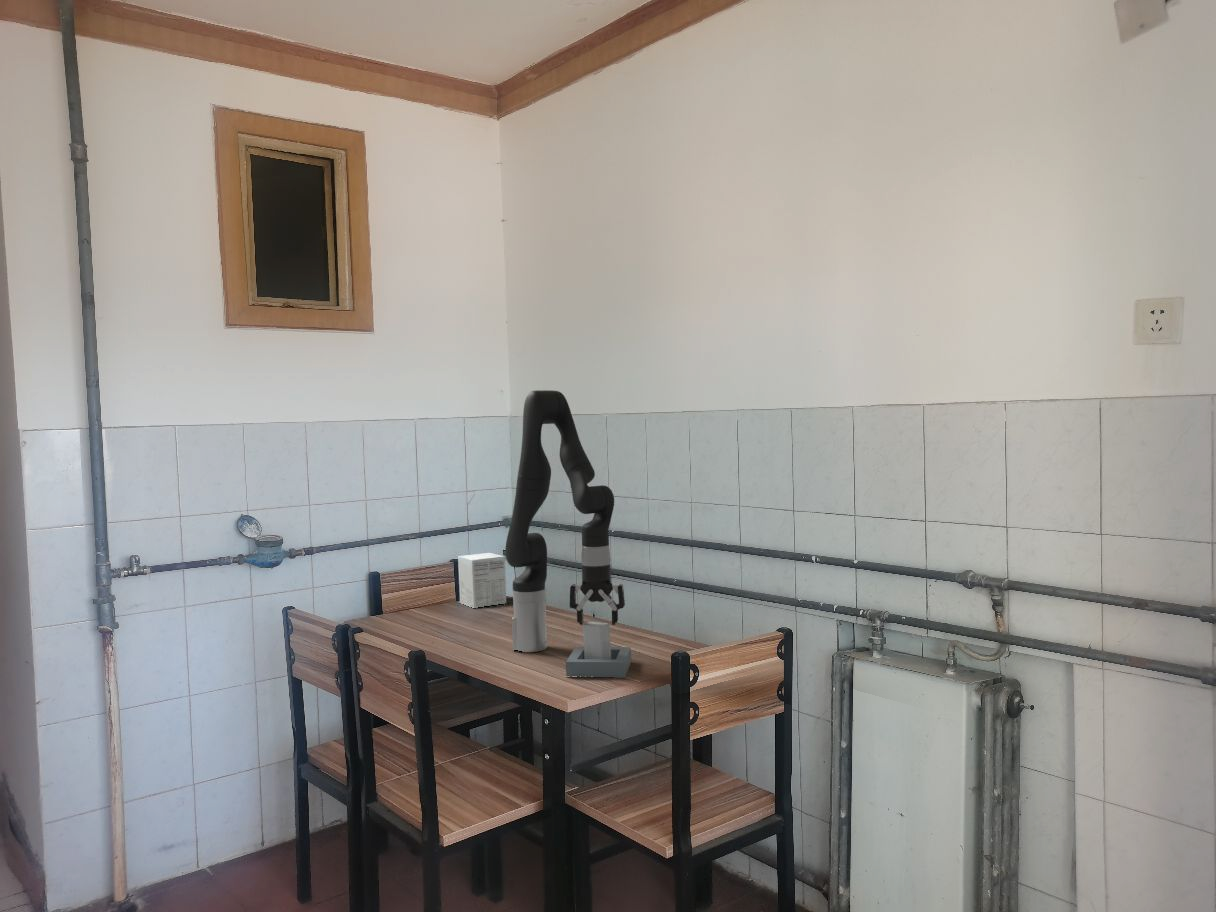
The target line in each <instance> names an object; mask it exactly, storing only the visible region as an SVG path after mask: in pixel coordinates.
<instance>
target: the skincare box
mask: <svg viewBox="0 0 1216 912" xmlns="http://www.w3.org/2000/svg"><path fill="white" fill-rule="evenodd" d="M610 628H611V627H610V623H605V622H600V621H599V622H597V621H588V622H586V623H583V625H582V634H583V636H582V637H583V647H584V656H585V659H611V647H612V646H611V645H612V644H611V629H610Z"/></svg>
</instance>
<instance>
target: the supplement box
mask: <svg viewBox="0 0 1216 912" xmlns="http://www.w3.org/2000/svg"><path fill="white" fill-rule="evenodd" d="M457 563H458V564H457V565H458V585H459V589H458V590H459V604H460V603H461V604H460V605H463V604H464V605H463V606H465V605H466V607H468V606H469V608H471V607H472V608H471V609H473V608H476V609H479V608H478V607H483V608H485V607H484V606H490V605H497V606H499V605H498V604H504V603H506V604H507V583H506V579H507V578H506V555H500V554H496V553H492V552H485V553H474V554H466V555H458V556H457ZM504 605H505V604H504ZM490 607H491V606H490Z"/></svg>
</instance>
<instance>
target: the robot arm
mask: <svg viewBox="0 0 1216 912" xmlns="http://www.w3.org/2000/svg"><path fill="white" fill-rule="evenodd" d="M523 403H524V404H523V410H522V411H523V413H522V440H521V451H520V457H519V465H518V472H517V478H516V486H515V487H516V489H515V496H514V502H513V503H514V504H513V509H512V515H511V520H510V523H509V529H508V532H507V536H506V541H505V560H506V561H507V564H508V565H509V566H511V567H512V568H523V567H525V569H524V571H523V572H522V573H521V574H520V575H518V576H517V577H516V578H515V579H513V581H512V602H513V605H512V607H513V617H512V618H511V625H512V626H511V627H512V628H511V630H512V631H511V632H512V634H511V635H512V651H513V650H518V651H517V652H519V651H522V653H535V652H542V651H545V650H546V649H548V639H547V638H548V635H547V613H546V612H547V610H546V606H547V605H546V581H547V576H548V547H547V542H546V540H545V537H544V536H543V535H542V534H541V533H539V532H530V533H529V531H530V530H529V529H530V526H531V524H532V520H533V519H534V517H535V515H536V514H537V513H538V511H539V510H540V509H541V507H542V505H543V504H544V503H545V500H546V499H547V497H548V494H549V491H550V485H551V478H552V477H551V476H552V468H551V465H550V462H549V459H548V457H547V455H546V453H545V451H544V449H543V444H542V428H543V425H552V424H553V425H555V427H556V428H557V430H558V431H559V432H558V433H560V448H559V461H560V463H561V466H562V469H563V470H564V472H565V474H566V477H567V479H568V480H569V483H570V489H571V495H572V501H573V504H574V507H575V508H576V510H577V511H578V512H580V514H582V515H590V514H593V517H592V519H591V520H590V521H588V522H586V523H584V524H582V527H581V553H580V554H581V558H580V559H581V584H580V585H578V584H576V583H572V585H570V586H569V608H570V609H574V610H575V611H576V622H577V623H579V625H580V626H583V624H584V609H583V608H584V606H585V605H586V604H587V602H588V601H589V602H591V603H595V602H598V603H603V602H605V603H606V604H607V605H608V606H610V608H611V625H612V626H615V625H616V624H617V623H618V621H619V610H621V609H623V608H624V607H625V605H626V602H625V601H626V600H625V588H624V585H623V584H622V583H620V584H614V585H613V584H612V571H611V570H612V569H611V568H612V567H611V561H612V558H611V551H610V536H609V535H610V534H609V532H610V531H609V528H610V525H611V520H612V515H613V512H614V508H615V497H614V493H613V490H612V489H611V488H610V487H609V486H607V485H604V484H603V485H592V486H589V485H588V484H590V483H591V482H592V481H593V480H594V479H595V476H596V475H595V474H596V472H595V469H594V467H593V465H592V463H591V461H590V460H589V457H588V456H587V453H586V452H585V449H584V447H583V445H582V442H581V439H580V437H579V434H578V433H579V432H578V431H577V427H576V424H575V420H574V418H573V414H572V412H571V409H570V405H569V402H568V400H567V398H566V396H565V395H564V394H563V393H562V392H561V391H559V390H548V389H546V390H543V389H542V390H538V389H537V390H532V391H530V392H528V394H527V395H526V396H525V400H524V402H523ZM613 590H614V592H615V594H617V596H618V603H617V602H616V601H615V600H614V598H613V597H612V595H611V593H612V591H613ZM579 591H581V592H582V594H583V595H584V596H583V598H582V599H581V601H580V602H579V603H577V594H578V593H579Z"/></svg>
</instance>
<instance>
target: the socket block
mask: <svg viewBox="0 0 1216 912" xmlns="http://www.w3.org/2000/svg"><path fill="white" fill-rule="evenodd" d="M631 664H632V647H631V646H624V647H623V646H622V647H621V646H611V659H585V656H584V646H575V647H574V649H573V650H572V651H571V653H570V654H569V656H568V658H567V659H566V661H565V677H566V676H570V677H569V678H572V676H577V677H580V676H581V677H585V676H586V677H591V676H593V677H614V678H613V679H624V678H626V676H627V673H628V671H629V669H630V666H631Z"/></svg>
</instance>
